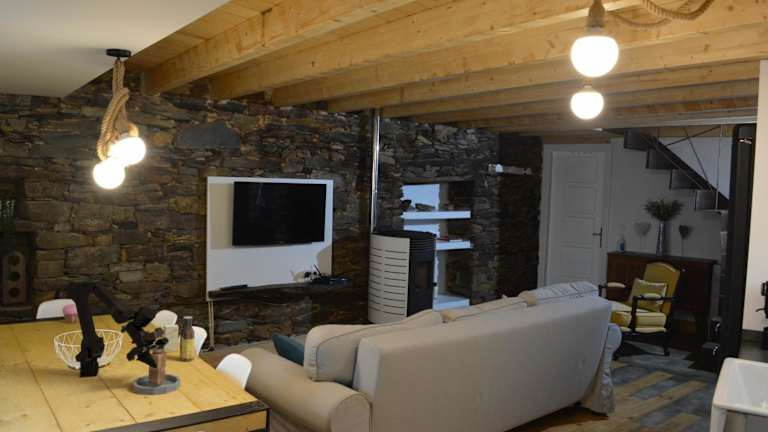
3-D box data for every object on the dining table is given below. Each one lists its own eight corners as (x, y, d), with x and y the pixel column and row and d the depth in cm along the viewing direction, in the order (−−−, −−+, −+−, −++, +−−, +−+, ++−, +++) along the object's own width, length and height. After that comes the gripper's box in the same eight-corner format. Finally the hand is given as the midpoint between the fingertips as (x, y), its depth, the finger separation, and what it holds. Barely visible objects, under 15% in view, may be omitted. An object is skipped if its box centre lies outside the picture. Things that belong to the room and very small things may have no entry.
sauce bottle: (181, 357, 273) (182, 315, 271) (195, 358, 273) (196, 315, 272) (177, 362, 266) (178, 318, 265) (192, 362, 267) (193, 318, 265)
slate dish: (135, 396, 222) (135, 390, 222) (131, 382, 238) (132, 376, 237) (182, 391, 230) (182, 385, 230) (176, 377, 245) (176, 372, 245)
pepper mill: (157, 384, 231) (158, 351, 230) (148, 383, 232) (149, 350, 232) (165, 381, 235) (166, 349, 234) (156, 379, 236) (156, 347, 236)
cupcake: (74, 324, 322) (74, 306, 321) (58, 323, 322) (59, 305, 321) (83, 320, 331) (83, 303, 330) (67, 320, 331) (68, 302, 330)
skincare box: (164, 352, 279) (164, 327, 278) (162, 350, 283) (163, 325, 282) (178, 351, 282) (178, 326, 281) (176, 348, 286) (176, 324, 285)
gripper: (133, 327, 225) (156, 359, 222) (165, 317, 242) (187, 347, 240) (116, 344, 228) (138, 377, 225) (149, 333, 245) (171, 363, 243)
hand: (160, 365), depth 233 cm, fingers open, 5 cm apart
